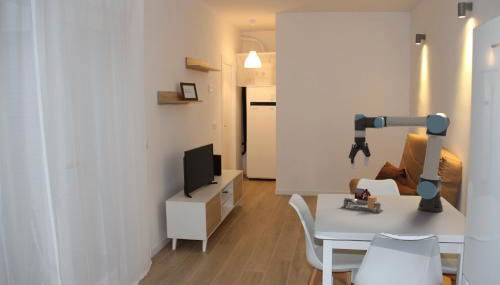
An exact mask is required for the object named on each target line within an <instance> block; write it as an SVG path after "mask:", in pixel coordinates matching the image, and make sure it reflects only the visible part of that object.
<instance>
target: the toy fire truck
mask: <svg viewBox="0 0 500 285" xmlns="http://www.w3.org/2000/svg"><path fill="white" fill-rule="evenodd" d="M353 192H354V198H353V199H357V200H363V201H368V197H369V196H372V194H371V192H370V191H369V189H368V188H365V189H364V188H360V187H354V188H353Z"/></svg>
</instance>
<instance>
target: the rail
mask: <svg viewBox="0 0 500 285" xmlns="http://www.w3.org/2000/svg"><path fill="white" fill-rule="evenodd" d="M349 203H352V204H357V205H352V204H349ZM358 204H360V205H367V206H366V207H365V206H359V205H358ZM374 206H376V208H375V209H369V208H368V201H363V200H357V199H354V198H347V197H344V199H343V205H342V206H341V207H340V208H341V209H345V210H352V211H357V212H359V211H360V212H363V213H364V212H366V213H371V214H377V215H379V214H381V213H382V212H383V211H384V210H383V209H382V207H381V203H380V202H374Z"/></svg>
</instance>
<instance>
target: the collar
mask: <svg viewBox="0 0 500 285" xmlns="http://www.w3.org/2000/svg"><path fill="white" fill-rule="evenodd" d="M377 201H378V200H377V196H375V195H371V196H368V205H367V208H369V209H376V206H374V202H377Z"/></svg>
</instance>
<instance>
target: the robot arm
mask: <svg viewBox="0 0 500 285" xmlns="http://www.w3.org/2000/svg"><path fill="white" fill-rule="evenodd" d="M353 120H354V122H353V123H354V130H353V131H354V141H353V142H354V143H352V144H351V149H350V151H349V155H348V159H350V164H351V165H350V168H351V169H356V156H357V154H358V153H359V151H362V153H363V155H364V157H363V158H364V159H363V161H364V162H363V163H364V164H363V165H364V167H369V158H370V157H371V156H372V154H371V150H370V148H369V143H368V142H367V141H366V139H367V138H366V136H367V131H366V130H367V129H377V130H378V129H383V128H426V132H425V135H426V136H427V142H426V143H427V144H426V148H425V149H426V150H425V157H424V163H423V170H422V174H420V175H419V178H418V184H417V187H416V192H417V194H418V196H419V197H420V201H419V203H418V210H421V211H423V212H430V213H440V212H443V211H444V207H443V202H442V199H441V197H442V196H441V195H442V194H441V192H442V177H441V176H440V175H438V174H439V167H440V159H441V153H442V148H443V140H444V138H446V137H447V131H448V128H449V126H450V122H451V121H450V118H449V116H448V115H447V114H445V113H442V112H438V113H432V114H427V115H392V116H391V115H388V116H386V115H378V116H367V115H366V114H365V113H357V114H355V115H354V119H353Z"/></svg>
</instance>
